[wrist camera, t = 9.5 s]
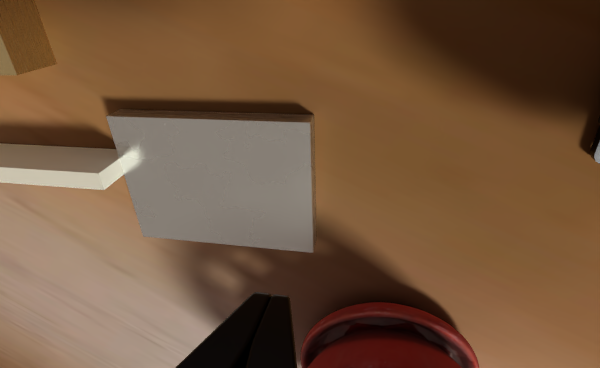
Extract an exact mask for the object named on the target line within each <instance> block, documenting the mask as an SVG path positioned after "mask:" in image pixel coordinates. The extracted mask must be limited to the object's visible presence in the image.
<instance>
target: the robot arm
mask: <svg viewBox="0 0 600 368" xmlns="http://www.w3.org/2000/svg"><path fill="white" fill-rule="evenodd" d="M598 122H599V124H600V117H599V119H598ZM590 155H591V157H592V158H593V159H594V160H595V161H596V162H598V163H600V126H599V129H598V132H597V134H596V137H595V140H594V142H593V145H592V147H591V150H590ZM176 368H297V362H296V352H295V342H294V333H293V323H292V314H291V304H290V298H289V297H288V296H284V295H276V294H275V295H273V296H272V295H271V294H267V293H259V292H255V293H253V294H252V295H251V296H250V297H249V298H248V299H247V300H246V301H245V302H243V303H242V304H241V305H240V306H239V307H238V308H237V309H236V310H235V311H234V312H233V313H232V314H231V315H230V316H229V317H228V318H227V319H226V320H225V321H224V322H223V323H222V324H221V325H219V326H218V327H217V328H216V329H215V330H214V331H213V332H212V333H211V334H210V335H209V336H208V337H207V338H206V339H205V340H204V341H203V342H202V343H201V344H200V345H199V346H198V347H197V348H195V349H194V350H193V351H192V352H191V353H190V354H189V355H188V356H187V357H186V358H185V359H184V360H183V361H182V362H181V363H180V364H179V365H178V366H177V367H176Z"/></svg>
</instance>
